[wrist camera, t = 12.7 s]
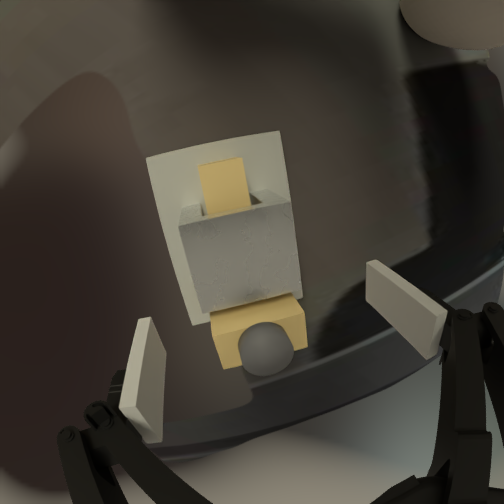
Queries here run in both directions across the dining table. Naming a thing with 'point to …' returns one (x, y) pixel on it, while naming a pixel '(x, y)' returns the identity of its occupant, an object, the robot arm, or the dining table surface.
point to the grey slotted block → (241, 251)
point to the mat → (190, 192)
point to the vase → (457, 22)
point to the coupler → (255, 313)
